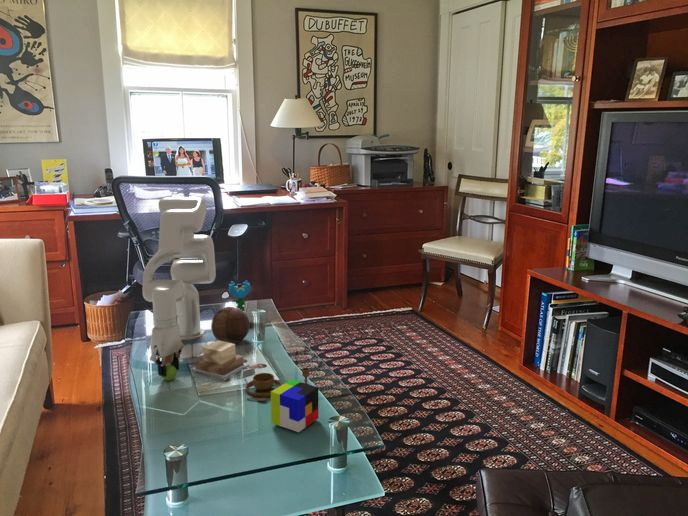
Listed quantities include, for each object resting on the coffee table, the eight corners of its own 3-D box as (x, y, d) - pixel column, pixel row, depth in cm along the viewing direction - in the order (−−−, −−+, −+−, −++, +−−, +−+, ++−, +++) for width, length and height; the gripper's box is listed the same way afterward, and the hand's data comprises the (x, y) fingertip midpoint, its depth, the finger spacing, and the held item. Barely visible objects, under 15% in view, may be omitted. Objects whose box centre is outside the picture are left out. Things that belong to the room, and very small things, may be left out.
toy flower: (251, 323, 257) (250, 284, 253) (231, 325, 255) (229, 285, 251) (250, 317, 266) (248, 279, 262) (230, 318, 264) (228, 280, 260)
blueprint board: (189, 371, 207) (189, 368, 207) (215, 357, 219) (215, 355, 219) (225, 380, 200) (225, 377, 200) (249, 366, 212) (249, 363, 212)
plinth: (195, 369, 207) (194, 348, 205) (217, 357, 217) (216, 337, 215) (222, 376, 201) (221, 354, 200) (243, 363, 212) (243, 343, 210)
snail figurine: (182, 376, 202) (179, 344, 199) (171, 384, 196) (168, 351, 193) (169, 374, 204) (166, 342, 201) (157, 382, 198) (154, 349, 195)
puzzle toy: (298, 432, 166) (298, 400, 164) (271, 422, 172) (270, 391, 169) (318, 418, 175) (318, 387, 173) (291, 409, 180) (291, 379, 178)
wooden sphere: (253, 337, 241) (253, 302, 238) (244, 350, 226) (243, 314, 223) (218, 335, 242) (217, 301, 239) (206, 349, 228) (205, 312, 224)
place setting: (256, 377, 204) (255, 362, 202) (311, 383, 200) (311, 367, 198) (237, 400, 187) (236, 383, 185) (297, 406, 183) (297, 389, 182)
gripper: (175, 313, 204) (178, 361, 208) (137, 327, 189) (141, 379, 193) (191, 316, 201) (194, 365, 205) (154, 331, 186) (158, 384, 190)
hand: (168, 371), depth 199 cm, fingers closed on snail figurine, 5 cm apart
